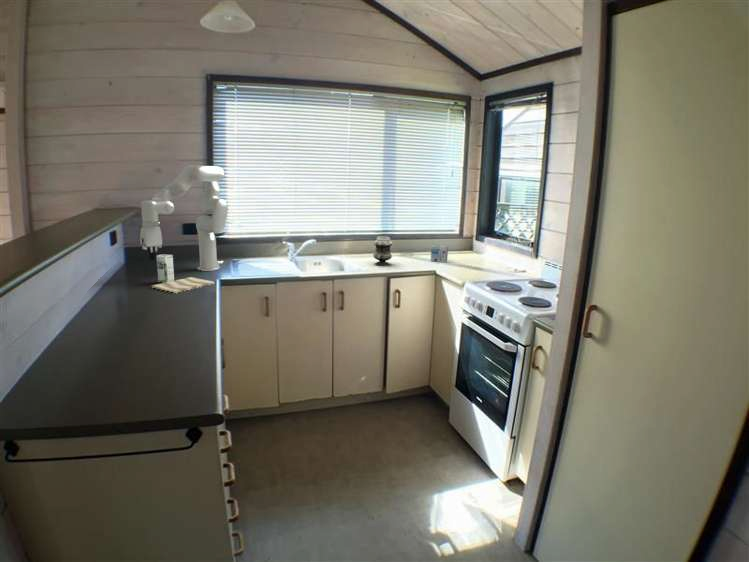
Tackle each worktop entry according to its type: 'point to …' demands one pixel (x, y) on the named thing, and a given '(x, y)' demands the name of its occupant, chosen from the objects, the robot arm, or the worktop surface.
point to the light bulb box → (439, 253)
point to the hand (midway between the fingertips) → (153, 259)
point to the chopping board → (183, 284)
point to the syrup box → (165, 268)
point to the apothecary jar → (382, 250)
